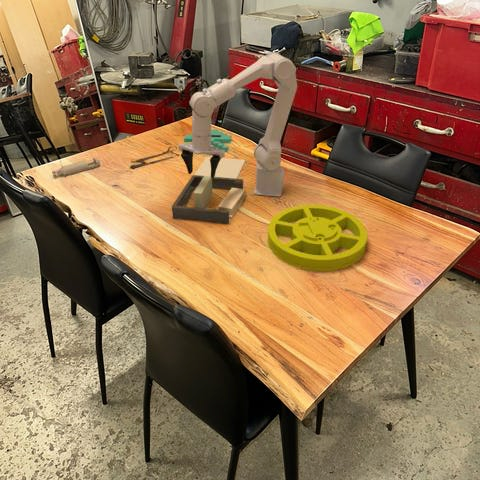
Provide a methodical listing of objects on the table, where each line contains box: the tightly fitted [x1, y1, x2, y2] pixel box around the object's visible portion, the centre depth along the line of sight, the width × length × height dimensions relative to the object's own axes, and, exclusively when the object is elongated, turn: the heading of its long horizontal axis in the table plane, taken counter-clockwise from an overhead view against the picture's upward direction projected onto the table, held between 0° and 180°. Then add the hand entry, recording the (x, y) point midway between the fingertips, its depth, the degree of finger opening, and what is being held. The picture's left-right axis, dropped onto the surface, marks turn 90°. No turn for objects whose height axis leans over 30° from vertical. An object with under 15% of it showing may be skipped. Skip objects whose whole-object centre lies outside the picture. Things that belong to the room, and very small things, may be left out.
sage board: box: [193, 176, 214, 209], centre depth 142 cm, size 2×12×7 cm, turn 168°
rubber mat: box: [194, 156, 247, 179], centre depth 164 cm, size 16×20×1 cm
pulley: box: [267, 204, 368, 272], centre depth 124 cm, size 28×28×5 cm
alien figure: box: [183, 128, 233, 153], centre depth 186 cm, size 20×2×20 cm
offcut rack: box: [171, 174, 244, 225], centre depth 143 cm, size 18×22×4 cm
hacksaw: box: [129, 146, 180, 170], centre depth 174 cm, size 24×10×2 cm, turn 125°
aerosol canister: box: [51, 157, 101, 178], centre depth 164 cm, size 18×5×6 cm, turn 127°
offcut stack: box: [217, 188, 247, 220], centre depth 142 cm, size 6×16×4 cm, turn 162°
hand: (201, 174), depth 139 cm, fingers open, 7 cm apart
